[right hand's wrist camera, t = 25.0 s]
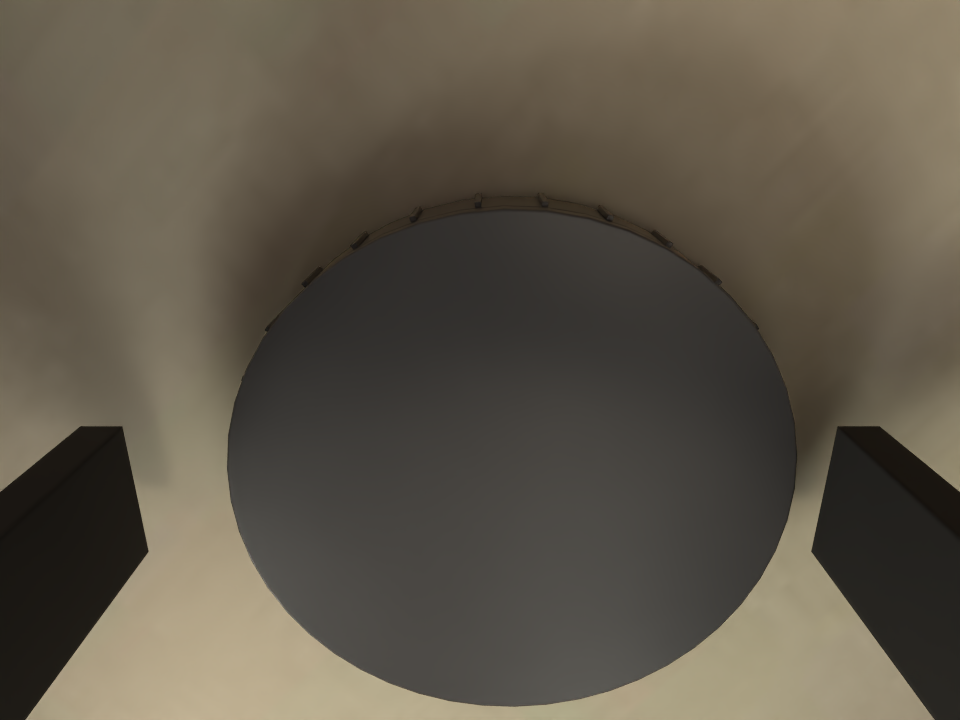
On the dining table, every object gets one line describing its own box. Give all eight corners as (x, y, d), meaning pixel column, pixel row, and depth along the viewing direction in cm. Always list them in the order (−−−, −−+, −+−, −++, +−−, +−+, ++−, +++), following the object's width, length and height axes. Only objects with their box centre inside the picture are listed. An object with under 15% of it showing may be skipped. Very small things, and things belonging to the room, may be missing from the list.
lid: (440, 64, 12) (432, 59, 10) (880, 401, 14) (928, 439, 12) (162, 501, 15) (125, 546, 13) (554, 719, 17) (560, 780, 15)
